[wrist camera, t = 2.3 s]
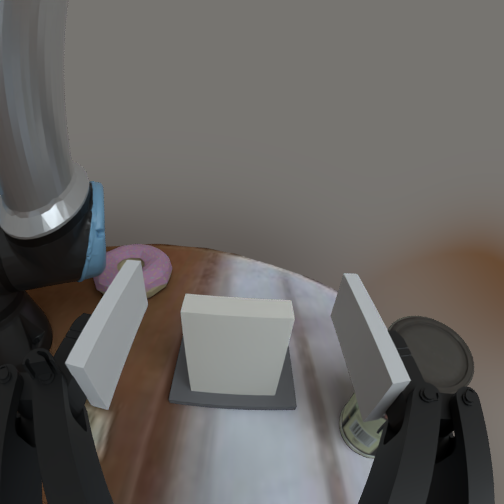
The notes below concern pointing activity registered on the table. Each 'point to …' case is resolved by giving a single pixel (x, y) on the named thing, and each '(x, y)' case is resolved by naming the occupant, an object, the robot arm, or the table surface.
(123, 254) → the donut
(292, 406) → the mat
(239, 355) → the tile
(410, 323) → the coffee can
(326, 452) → the table surface
